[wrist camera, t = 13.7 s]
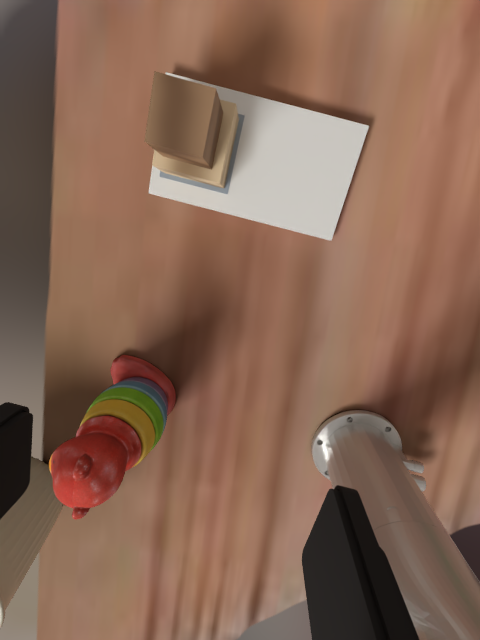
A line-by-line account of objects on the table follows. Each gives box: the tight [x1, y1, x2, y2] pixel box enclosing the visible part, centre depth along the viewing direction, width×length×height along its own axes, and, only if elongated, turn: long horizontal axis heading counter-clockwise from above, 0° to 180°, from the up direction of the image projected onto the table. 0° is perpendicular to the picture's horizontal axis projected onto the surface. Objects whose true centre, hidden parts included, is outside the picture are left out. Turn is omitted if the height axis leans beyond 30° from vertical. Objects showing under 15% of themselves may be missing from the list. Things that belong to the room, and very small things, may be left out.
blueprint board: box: [149, 72, 369, 240], centre depth 33 cm, size 22×12×1 cm, turn 76°
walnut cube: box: [144, 71, 224, 170], centre depth 26 cm, size 5×5×5 cm
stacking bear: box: [49, 355, 176, 519], centre depth 35 cm, size 11×10×18 cm
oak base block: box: [152, 100, 239, 188], centre depth 31 cm, size 7×7×4 cm
